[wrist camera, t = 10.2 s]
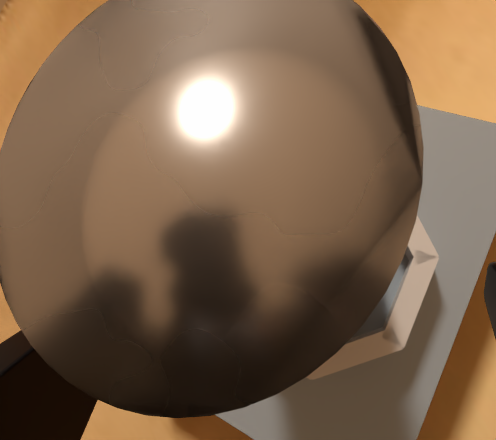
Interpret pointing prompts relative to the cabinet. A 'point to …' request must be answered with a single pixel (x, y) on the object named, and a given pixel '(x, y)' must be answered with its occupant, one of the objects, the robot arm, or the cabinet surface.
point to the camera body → (402, 306)
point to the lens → (207, 197)
